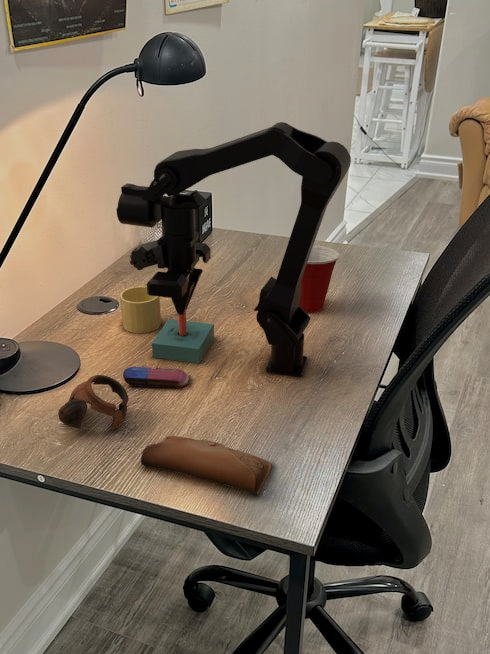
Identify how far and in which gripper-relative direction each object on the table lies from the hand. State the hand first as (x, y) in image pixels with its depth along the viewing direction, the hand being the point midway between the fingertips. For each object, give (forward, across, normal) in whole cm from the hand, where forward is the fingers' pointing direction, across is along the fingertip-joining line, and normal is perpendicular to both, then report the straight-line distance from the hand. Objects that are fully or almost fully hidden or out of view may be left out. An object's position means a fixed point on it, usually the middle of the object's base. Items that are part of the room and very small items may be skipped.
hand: (182, 312), depth 132 cm
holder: (+7, 0, 0) cm, 7 cm away
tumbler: (+7, -7, -11) cm, 15 cm away
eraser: (+8, +13, -1) cm, 15 cm away
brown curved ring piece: (+8, +27, -7) cm, 29 cm away
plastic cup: (+8, -23, +20) cm, 31 cm away
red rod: (+4, 0, 0) cm, 4 cm away
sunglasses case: (+8, +33, +14) cm, 37 cm away
